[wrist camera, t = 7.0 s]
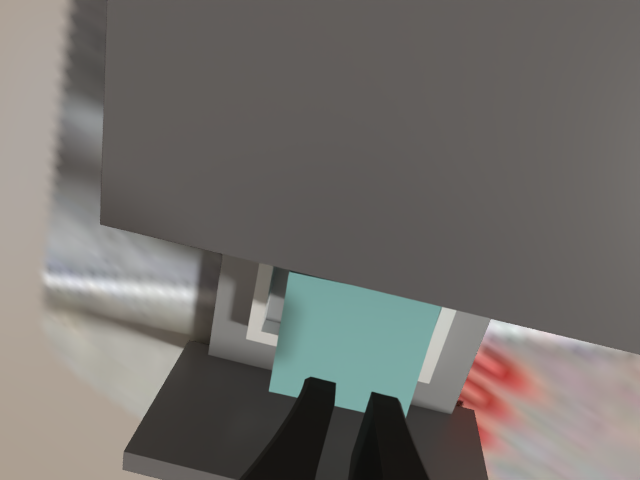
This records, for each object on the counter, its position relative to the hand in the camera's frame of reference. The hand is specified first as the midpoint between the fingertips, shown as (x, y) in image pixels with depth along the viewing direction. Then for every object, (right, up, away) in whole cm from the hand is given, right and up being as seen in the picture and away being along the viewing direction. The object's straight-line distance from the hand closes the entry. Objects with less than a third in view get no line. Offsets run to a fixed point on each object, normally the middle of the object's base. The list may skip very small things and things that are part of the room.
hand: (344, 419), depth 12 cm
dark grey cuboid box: (+3, +10, +4) cm, 12 cm away
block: (+1, +3, +7) cm, 8 cm away
